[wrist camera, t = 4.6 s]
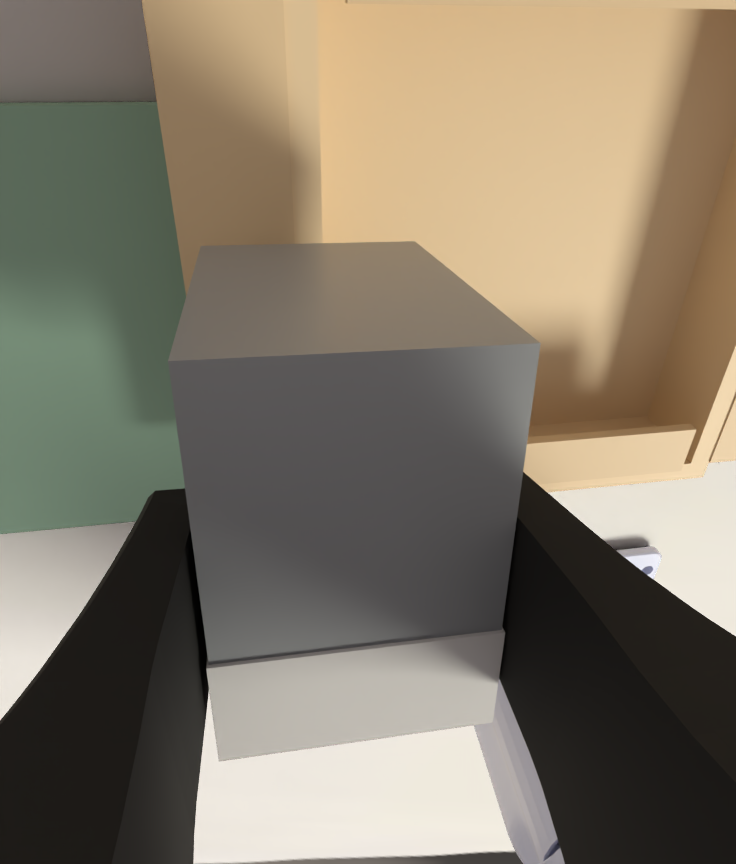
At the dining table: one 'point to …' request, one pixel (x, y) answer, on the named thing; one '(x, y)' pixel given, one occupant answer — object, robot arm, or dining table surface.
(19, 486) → the flat green panel
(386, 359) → the grey box
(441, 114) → the tan wooden shallow tray
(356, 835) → the dining table surface
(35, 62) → the dining table surface
